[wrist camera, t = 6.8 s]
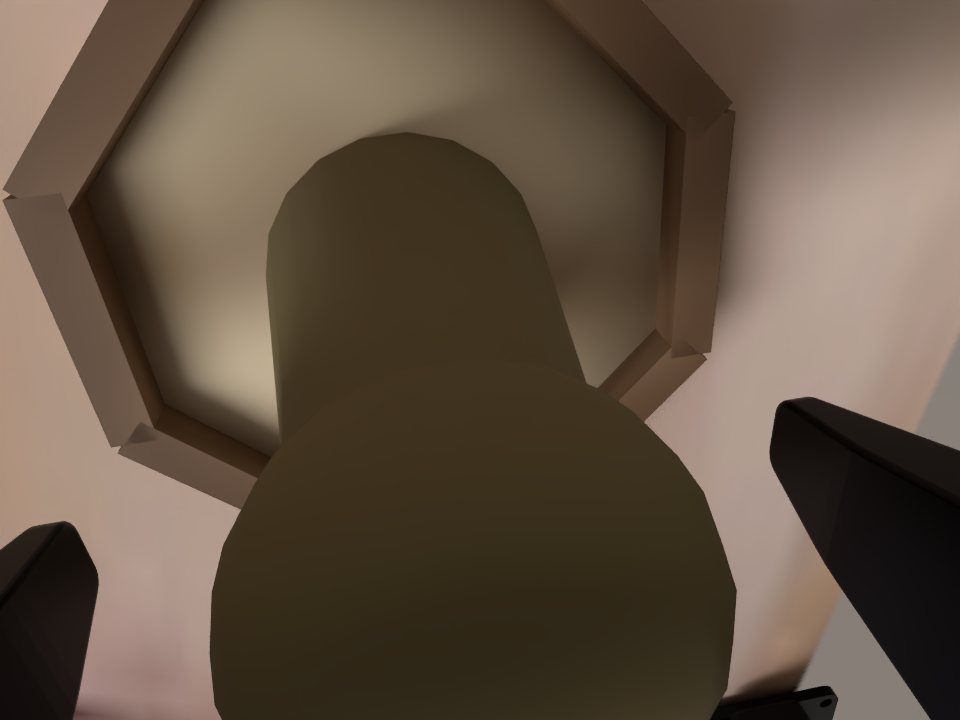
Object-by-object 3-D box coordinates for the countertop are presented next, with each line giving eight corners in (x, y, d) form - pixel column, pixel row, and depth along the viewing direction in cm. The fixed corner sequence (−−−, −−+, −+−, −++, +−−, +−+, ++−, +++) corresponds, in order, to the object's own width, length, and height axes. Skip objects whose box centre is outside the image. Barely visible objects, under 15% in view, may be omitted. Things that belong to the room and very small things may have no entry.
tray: (676, 452, 20) (700, 488, 18) (180, 538, 18) (166, 584, 17) (722, -140, 13) (767, -154, 11) (-72, -77, 11) (-130, -84, 10)
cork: (211, 305, 15) (-33, 901, 5) (371, 65, 13) (440, 310, 3) (434, 428, 17) (541, 978, 8) (593, 242, 15) (981, 659, 6)
